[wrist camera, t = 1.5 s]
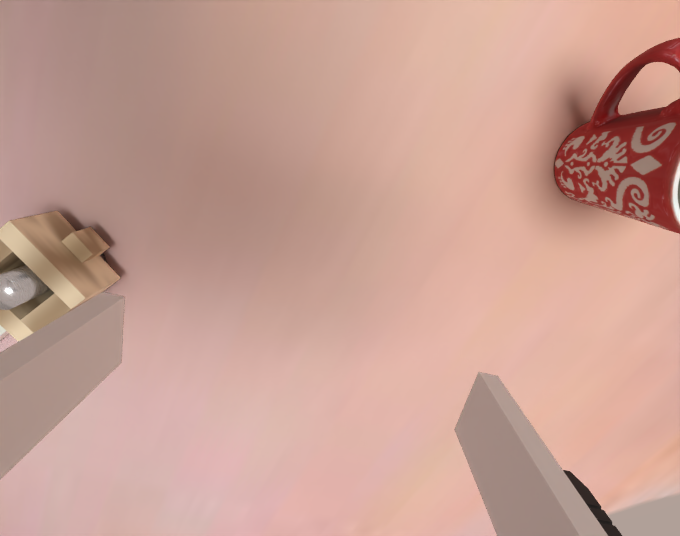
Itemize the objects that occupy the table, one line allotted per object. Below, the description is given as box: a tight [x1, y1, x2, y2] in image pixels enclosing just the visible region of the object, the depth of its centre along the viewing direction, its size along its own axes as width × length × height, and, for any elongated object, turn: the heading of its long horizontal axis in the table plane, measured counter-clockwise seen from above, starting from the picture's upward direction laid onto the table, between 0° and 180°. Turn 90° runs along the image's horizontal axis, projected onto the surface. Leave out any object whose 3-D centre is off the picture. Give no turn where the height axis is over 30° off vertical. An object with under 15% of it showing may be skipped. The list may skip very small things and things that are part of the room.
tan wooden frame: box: [0, 211, 120, 342], centre depth 32 cm, size 8×9×5 cm
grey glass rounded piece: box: [0, 253, 107, 310], centre depth 32 cm, size 7×7×8 cm
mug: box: [554, 38, 680, 234], centre depth 26 cm, size 13×9×14 cm
